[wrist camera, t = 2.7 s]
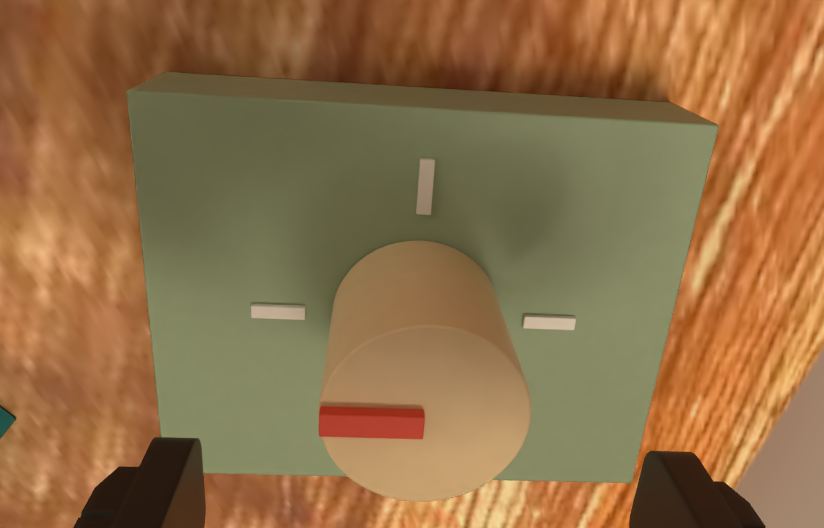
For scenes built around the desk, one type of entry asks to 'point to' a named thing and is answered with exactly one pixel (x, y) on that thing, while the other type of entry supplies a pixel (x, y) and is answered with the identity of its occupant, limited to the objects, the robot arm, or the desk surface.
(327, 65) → the desk surface
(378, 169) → the panel
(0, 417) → the chart
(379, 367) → the knob
